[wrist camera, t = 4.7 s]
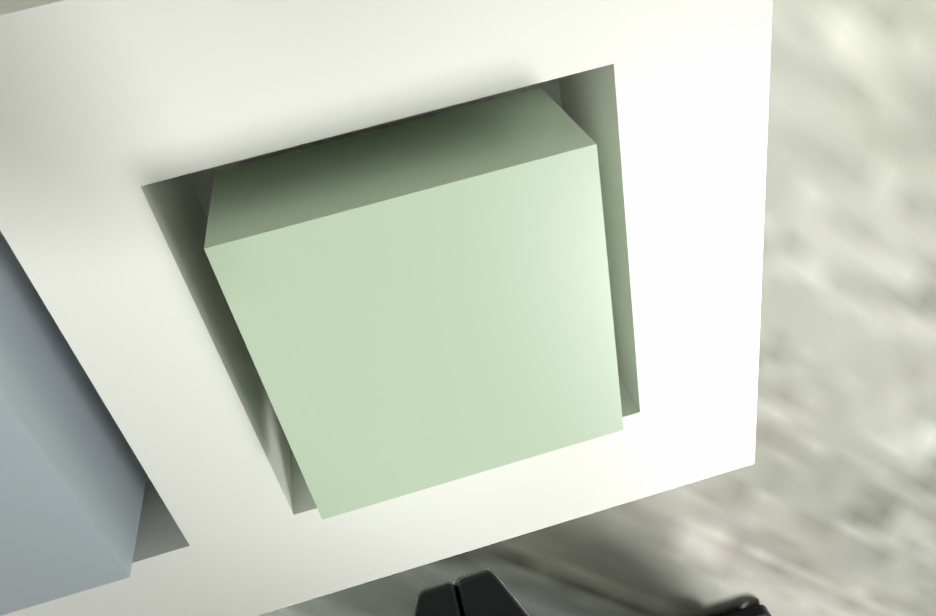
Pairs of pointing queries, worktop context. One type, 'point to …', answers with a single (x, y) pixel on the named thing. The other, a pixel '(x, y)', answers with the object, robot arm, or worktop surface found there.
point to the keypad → (337, 117)
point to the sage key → (424, 296)
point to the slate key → (56, 461)
